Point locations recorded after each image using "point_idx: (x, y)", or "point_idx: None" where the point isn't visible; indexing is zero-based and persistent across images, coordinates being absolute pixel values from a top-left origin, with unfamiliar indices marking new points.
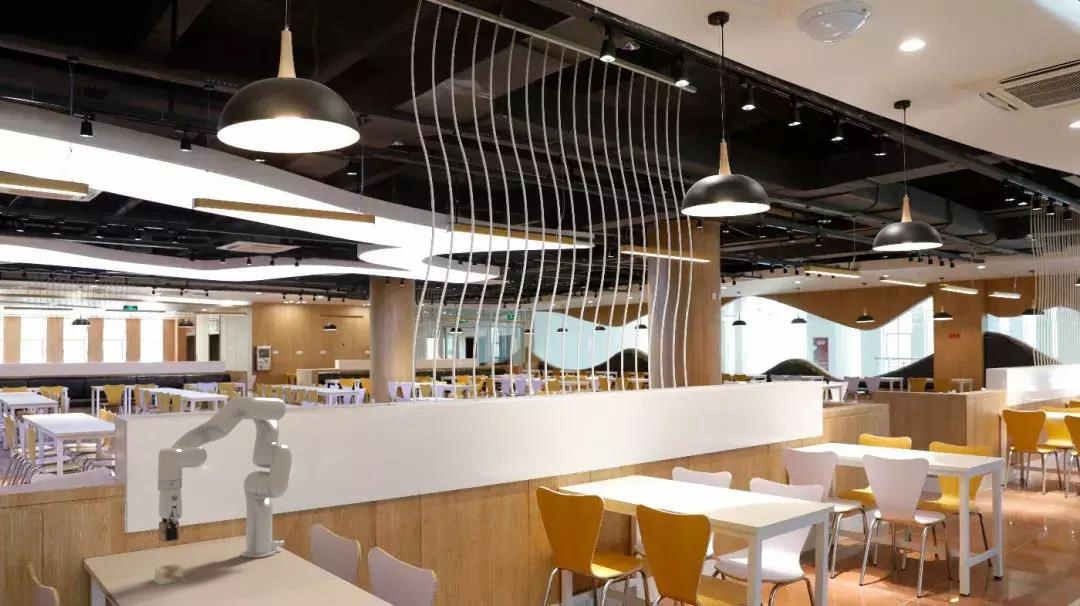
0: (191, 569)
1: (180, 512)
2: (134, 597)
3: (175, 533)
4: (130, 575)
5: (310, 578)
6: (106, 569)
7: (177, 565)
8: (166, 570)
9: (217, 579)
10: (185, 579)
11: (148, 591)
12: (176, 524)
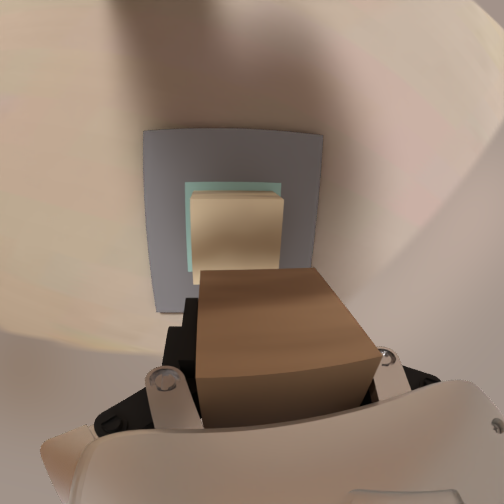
0: (124, 113)
1: (496, 420)
2: None
3: None
4: (76, 293)
5: (453, 3)
6: (7, 314)
7: (230, 205)
8: (275, 263)
9: (331, 96)
10: (280, 184)
11: None
12: (422, 372)
